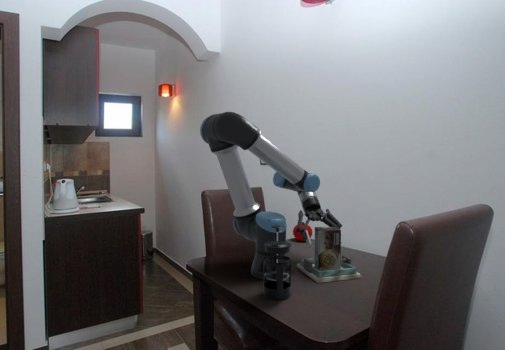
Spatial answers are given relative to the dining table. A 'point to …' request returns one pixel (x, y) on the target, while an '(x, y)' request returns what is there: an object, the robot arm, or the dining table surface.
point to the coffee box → (327, 248)
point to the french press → (277, 270)
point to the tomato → (299, 236)
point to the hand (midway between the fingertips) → (325, 245)
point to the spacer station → (329, 271)
